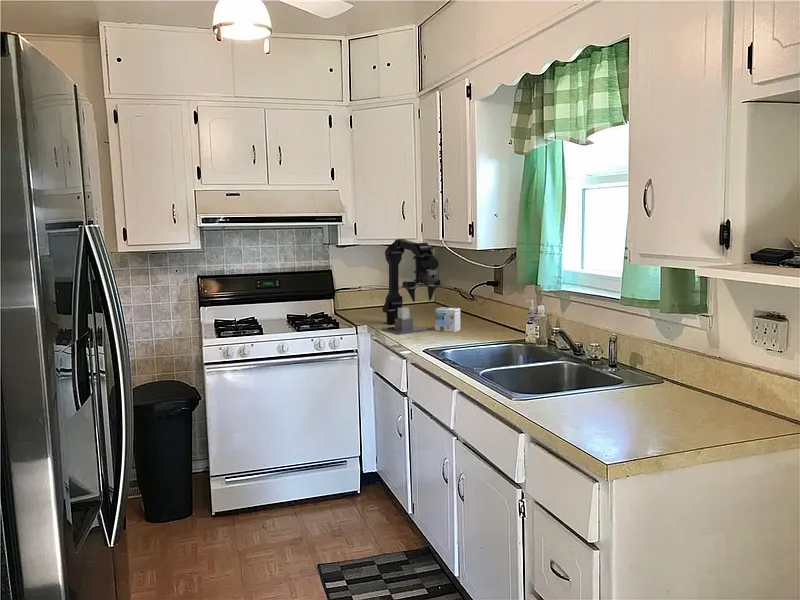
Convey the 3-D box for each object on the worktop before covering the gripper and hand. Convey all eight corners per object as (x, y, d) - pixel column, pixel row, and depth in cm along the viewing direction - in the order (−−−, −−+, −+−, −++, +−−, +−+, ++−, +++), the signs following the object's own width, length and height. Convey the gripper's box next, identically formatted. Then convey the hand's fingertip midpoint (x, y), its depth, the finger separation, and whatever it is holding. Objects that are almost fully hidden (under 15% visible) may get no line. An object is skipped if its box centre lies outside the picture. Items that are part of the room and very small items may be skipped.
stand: (381, 330, 331) (381, 318, 330) (408, 326, 339) (408, 315, 339) (399, 334, 317) (398, 322, 317) (426, 330, 326) (426, 318, 325)
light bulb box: (435, 330, 326) (434, 308, 325) (440, 328, 332) (440, 307, 331) (455, 332, 321) (455, 309, 320) (460, 330, 327) (460, 308, 326)
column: (398, 328, 329) (397, 307, 328) (405, 327, 331) (404, 307, 330) (402, 329, 325) (402, 308, 324) (410, 328, 328) (409, 307, 326)
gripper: (413, 271, 312) (414, 304, 314) (446, 268, 321) (447, 301, 323) (401, 269, 321) (402, 302, 323) (434, 267, 330) (434, 298, 332)
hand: (421, 301), depth 325 cm, fingers open, 9 cm apart
